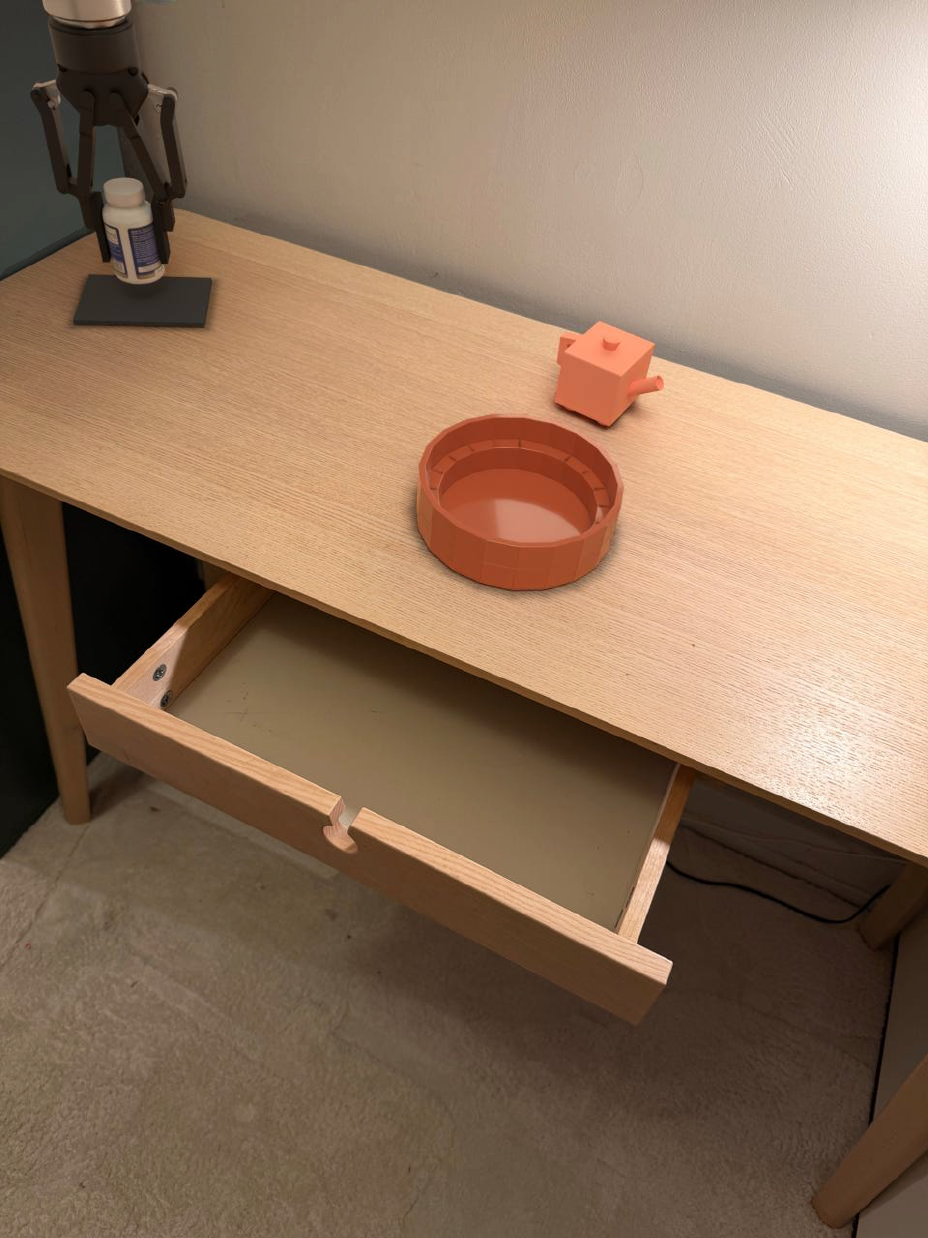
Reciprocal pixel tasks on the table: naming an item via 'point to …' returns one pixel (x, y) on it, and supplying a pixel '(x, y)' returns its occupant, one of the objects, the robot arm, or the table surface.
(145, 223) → the pill bottle
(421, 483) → the bowl
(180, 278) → the mat
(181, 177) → the robot arm
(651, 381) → the pink cube teapot
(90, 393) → the table surface
